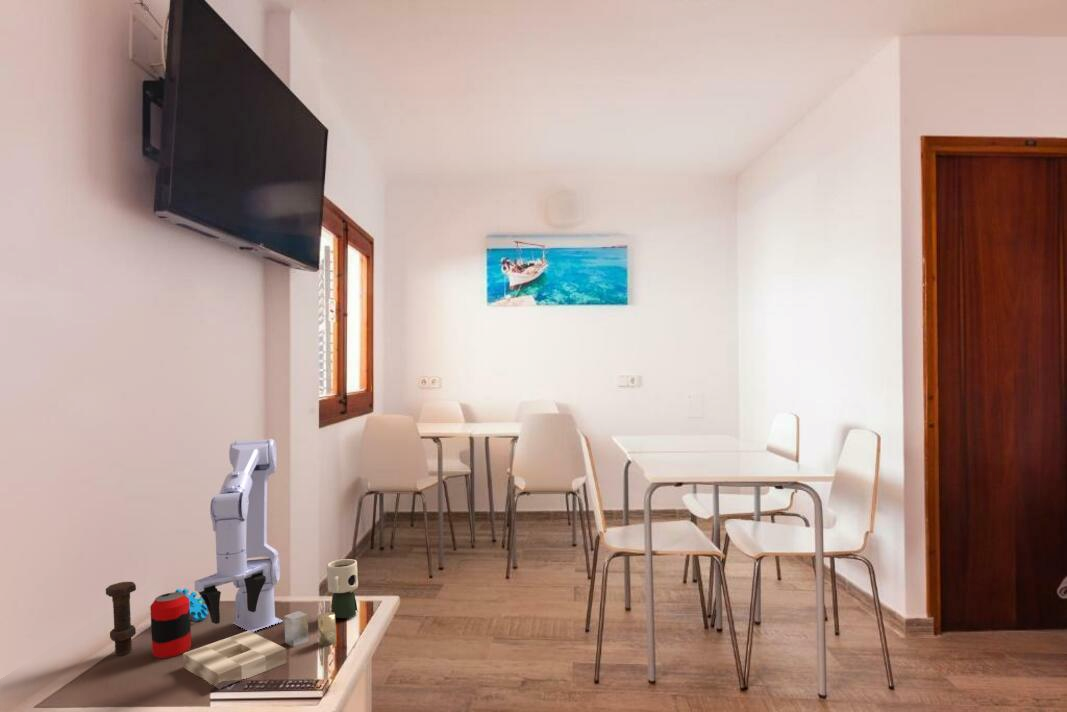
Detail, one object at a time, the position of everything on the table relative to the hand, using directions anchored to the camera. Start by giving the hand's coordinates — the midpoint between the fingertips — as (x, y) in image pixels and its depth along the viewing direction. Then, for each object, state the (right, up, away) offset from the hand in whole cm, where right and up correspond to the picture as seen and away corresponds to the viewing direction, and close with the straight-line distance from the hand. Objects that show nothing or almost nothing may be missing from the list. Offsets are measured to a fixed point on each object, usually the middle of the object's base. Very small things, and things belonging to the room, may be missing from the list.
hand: (234, 616), depth 141 cm
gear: (-23, -11, +28) cm, 37 cm away
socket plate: (0, -10, 0) cm, 10 cm away
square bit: (+9, -10, +11) cm, 17 cm away
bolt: (-28, -12, +9) cm, 32 cm away
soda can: (-17, -11, +9) cm, 22 cm away
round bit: (+16, -9, +10) cm, 21 cm away
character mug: (+16, -10, +25) cm, 31 cm away
